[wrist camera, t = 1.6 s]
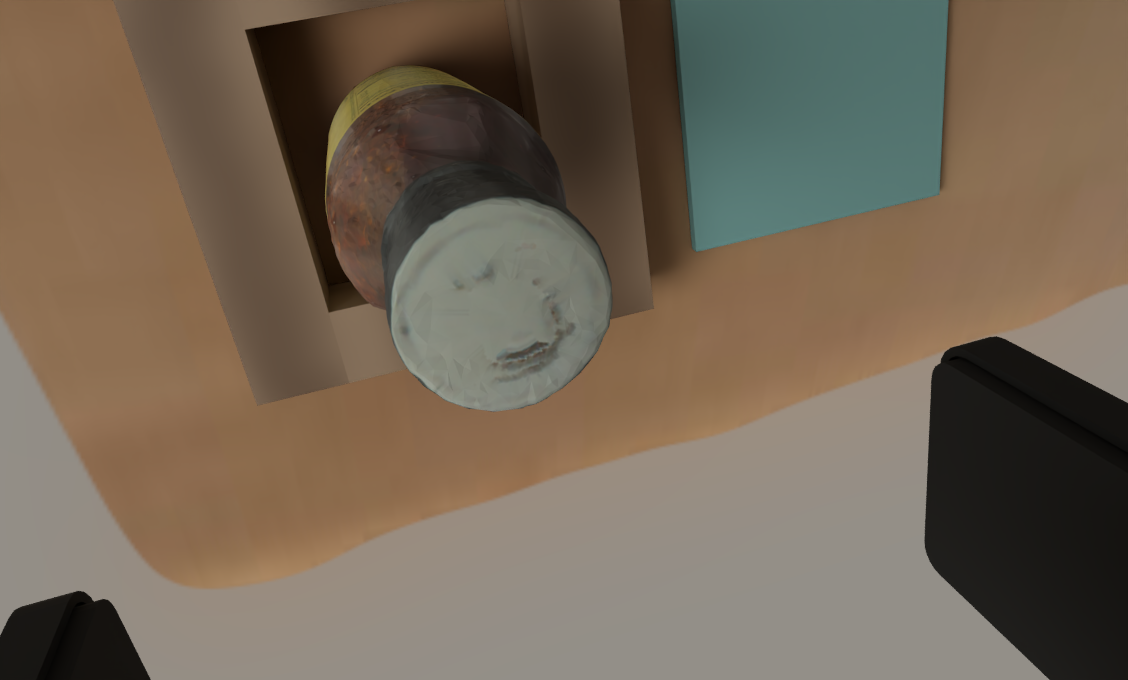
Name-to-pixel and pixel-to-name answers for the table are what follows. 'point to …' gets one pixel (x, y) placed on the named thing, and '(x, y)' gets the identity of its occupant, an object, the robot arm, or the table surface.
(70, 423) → the table surface
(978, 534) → the robot arm
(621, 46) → the pocket block
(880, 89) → the teal mat
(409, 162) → the sauce bottle
